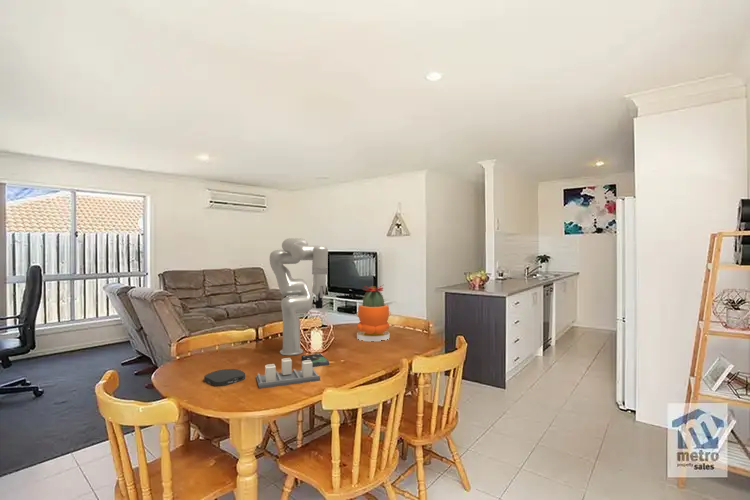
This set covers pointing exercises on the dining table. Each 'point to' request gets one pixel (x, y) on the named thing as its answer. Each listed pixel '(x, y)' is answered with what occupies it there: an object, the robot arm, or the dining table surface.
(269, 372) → the tab
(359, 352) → the dining table surface
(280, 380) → the grey divided tray
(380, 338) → the potted cactus
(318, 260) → the robot arm
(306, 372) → the tab
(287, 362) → the tab
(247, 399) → the dining table surface
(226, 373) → the media streaming box
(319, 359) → the disk drive
